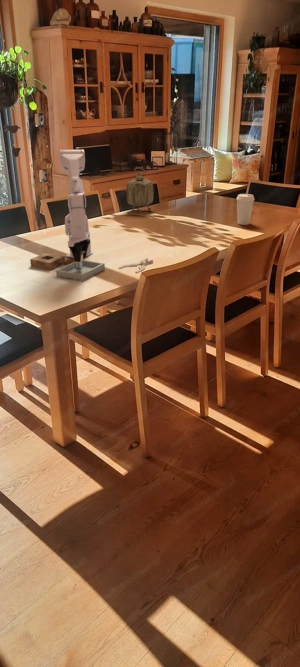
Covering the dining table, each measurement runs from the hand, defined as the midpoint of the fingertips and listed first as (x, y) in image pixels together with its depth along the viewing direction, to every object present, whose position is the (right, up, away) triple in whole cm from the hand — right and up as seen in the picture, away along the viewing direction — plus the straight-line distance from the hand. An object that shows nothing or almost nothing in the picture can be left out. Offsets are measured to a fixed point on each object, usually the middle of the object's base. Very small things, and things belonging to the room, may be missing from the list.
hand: (80, 259), depth 196 cm
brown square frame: (-15, 0, +11) cm, 19 cm away
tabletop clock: (+21, +44, +103) cm, 114 cm away
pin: (-1, -3, +2) cm, 4 cm away
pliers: (+23, -2, +10) cm, 25 cm away
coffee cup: (+78, +31, +76) cm, 113 cm away
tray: (0, -5, +2) cm, 5 cm away
